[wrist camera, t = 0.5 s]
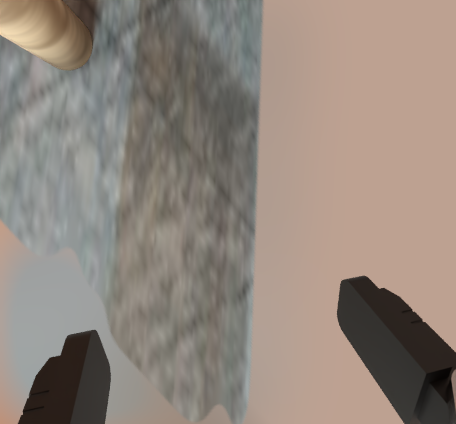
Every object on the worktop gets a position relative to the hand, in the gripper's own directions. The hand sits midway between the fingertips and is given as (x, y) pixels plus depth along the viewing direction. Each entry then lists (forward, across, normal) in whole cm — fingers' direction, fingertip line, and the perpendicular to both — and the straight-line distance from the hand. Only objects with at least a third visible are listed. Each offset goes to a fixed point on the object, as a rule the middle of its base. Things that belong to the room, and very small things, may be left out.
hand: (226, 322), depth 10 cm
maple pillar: (+29, +9, -10) cm, 32 cm away
